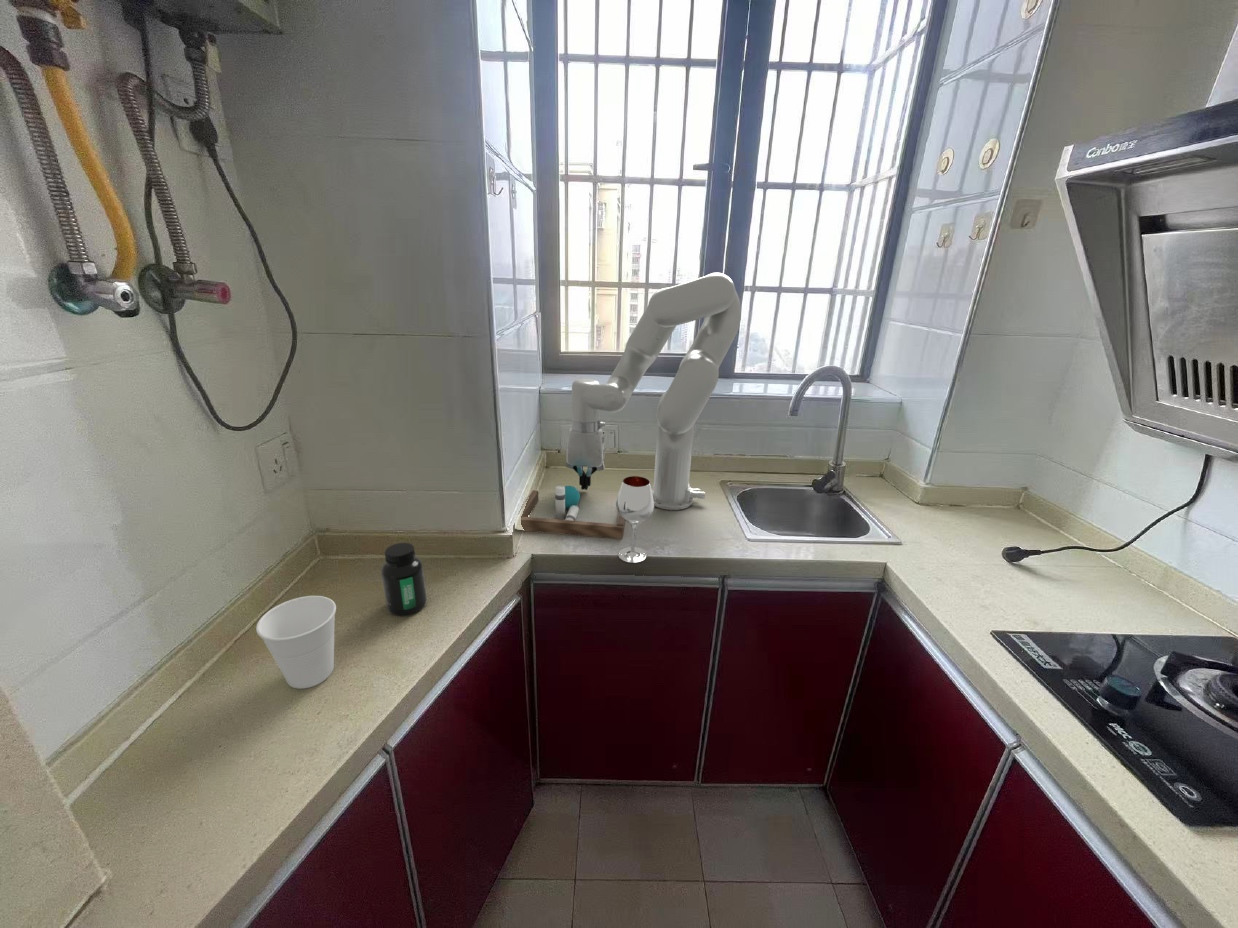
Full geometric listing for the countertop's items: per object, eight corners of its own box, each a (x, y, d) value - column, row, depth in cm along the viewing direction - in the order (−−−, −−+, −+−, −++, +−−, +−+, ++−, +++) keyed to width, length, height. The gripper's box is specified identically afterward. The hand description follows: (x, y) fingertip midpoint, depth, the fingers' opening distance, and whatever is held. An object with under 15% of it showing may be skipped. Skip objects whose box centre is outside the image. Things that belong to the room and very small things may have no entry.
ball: (572, 507, 127) (584, 508, 133) (572, 484, 128) (583, 485, 133) (552, 508, 130) (564, 509, 135) (552, 485, 130) (564, 487, 136)
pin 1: (566, 516, 128) (566, 486, 125) (564, 521, 125) (564, 490, 122) (556, 515, 128) (556, 485, 125) (554, 520, 126) (554, 489, 122)
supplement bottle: (419, 617, 90) (411, 560, 85) (381, 616, 89) (371, 559, 85) (432, 594, 96) (425, 539, 92) (396, 593, 96) (387, 539, 91)
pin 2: (576, 503, 128) (570, 518, 120) (580, 511, 129) (575, 527, 121) (567, 507, 129) (561, 522, 121) (572, 515, 129) (566, 530, 122)
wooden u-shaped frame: (628, 507, 134) (628, 497, 132) (622, 539, 118) (622, 527, 117) (533, 500, 136) (532, 490, 135) (514, 530, 120) (514, 518, 119)
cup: (295, 652, 81) (280, 595, 77) (358, 650, 81) (347, 594, 77) (258, 701, 72) (239, 640, 67) (330, 699, 72) (315, 639, 68)
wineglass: (634, 542, 117) (638, 471, 110) (658, 557, 111) (663, 483, 105) (606, 553, 112) (609, 479, 105) (630, 569, 106) (634, 492, 100)
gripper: (614, 423, 137) (612, 484, 144) (561, 419, 138) (561, 480, 145) (611, 431, 130) (609, 495, 137) (555, 427, 132) (556, 491, 138)
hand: (585, 487), depth 141 cm, fingers closed
